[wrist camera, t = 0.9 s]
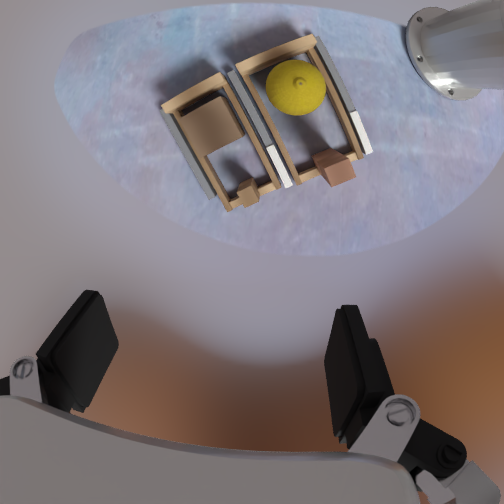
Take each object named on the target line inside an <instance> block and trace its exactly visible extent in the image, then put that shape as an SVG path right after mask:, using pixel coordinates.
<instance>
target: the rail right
mask: <svg viewBox="0 0 504 504" xmlns="http://www.w3.org/2000/svg"><path fill="white" fill-rule="evenodd" d="M160 113H161V115H162V116H163V118H164V120H165V122H166V124H167V126H168V127H169V129H170V131H171V133H172V135H173V136H174V138H175V140H176V142H177V144H178V145H179V147H180V149H181V151H182V153H183V154H184V156H185V158H186V160H187V162H188V163H189V165H190V167H191V169H192V171H193V172H194V174H195V176H196V178H197V180H198V181H199V183H200V185H201V187H202V188H203V190H204V192H205V194H206V196H207V197H208V199H209V200H210V199H212V198H214V197H215V196H216V195H217V192H216V190H215V189H214V187H213V185H212V183H211V181H210V180H209V178H208V176H207V174H206V172H205V171H204V169H203V167H202V165H201V163H200V161H199V160H198V158H197V156H196V154H195V152H194V151H193V149H192V147H191V145H190V143H189V142H188V140H187V138H186V136H185V134H184V132H183V131H182V129H181V127H180V125H179V123H178V122H177V120H176V118H175V116H174V114H173V113H168V114H166V113H165V112H164V110H163V109H162V110H160Z"/></svg>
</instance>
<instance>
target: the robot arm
mask: <svg viewBox="0 0 504 504" xmlns="http://www.w3.org/2000/svg"><path fill="white" fill-rule="evenodd" d="M406 45H407V49H408V53H409V56H410V58H411V61H412V63H413V65H414V67H415V68H416V70H417V72H418V73H419V75H420V76H421V77H422V79H423V80H424V81H425V82H426V83H427V84H428V85H429V86H430V87H431V88H432V89H433V90H434V91H436V92H437V93H438V94H440V95H442V96H444V97H446V98H449V99H452V100H469V99H472V98H474V97H475V96H477V95H478V94H479V93H480V91H481V90H482V89H497V90H504V0H479V1H476V2H474V3H470V4H468V5H465V6H462V7H459V8H457V9H454V10H452V11H447V10H445V9H442V8H438V7H428V8H424V9H422V10H420V11H418V12H416V13H415V14H414V15H413V16H412V17H411V19H410V20H409V22H408V25H407V28H406ZM417 59H418V60H417ZM118 345H119V344H118V339H117V336H116V334H115V331H114V328H113V326H112V323H111V320H110V317H109V314H108V312H107V308H106V306H105V303H104V299H103V297H102V295H100V294H99V292H98V291H93V290H85V291H84V292H83V293H82V294H81V295H80V297H79V298H78V299H77V300H76V301H75V303H74V304H73V305H72V306H71V308H70V309H69V310H68V311H67V313H66V314H65V315H64V316H63V318H62V319H61V320H60V322H59V323H58V324H57V325H56V327H55V328H54V329H53V331H52V332H51V334H50V335H49V336H48V338H47V339H46V340H45V342H44V343H43V344H42V346H41V347H40V349H39V350H38V351H37V353H36V355H37V357H38V359H37V360H35V359H34V358H33V357H31V356H24V357H21V358H19V359H17V360H16V361H15V362H14V363H13V365H12V366H11V369H10V376H8V377H5V378H3V379H0V504H420V500H419V496H418V492H417V491H423V492H424V493H425V494H426V495H427V496H428V497H429V498H428V499H427V500H428V501H429V502H430V503H431V504H499V502H500V497H501V494H500V490H499V488H498V487H497V486H496V485H495V484H494V482H493V481H492V480H491V479H490V478H489V477H488V476H487V475H486V474H485V473H484V472H483V471H482V470H481V469H480V468H479V467H478V466H477V465H476V464H475V463H474V462H473V461H471V462H469V461H468V460H467V459H466V457H467V452H466V448H465V446H464V445H463V443H462V442H460V441H459V440H458V439H456V438H454V437H453V436H451V435H449V434H447V433H445V432H443V431H442V430H440V429H438V428H436V427H434V426H433V425H431V424H429V423H427V422H426V421H424V420H422V419H420V409H419V407H418V405H417V403H416V402H415V401H414V400H413V399H411V398H409V397H407V396H405V395H395V393H394V390H393V387H392V384H391V380H390V377H389V374H388V371H387V368H386V365H385V362H384V359H383V356H382V353H381V350H380V348H379V345H378V342H377V341H376V339H374V338H373V339H369V337H368V334H367V331H366V328H365V325H364V322H363V319H362V317H361V314H360V311H359V309H358V306H357V305H342V306H341V309H337V310H336V313H335V317H334V321H333V325H332V330H331V334H330V338H329V342H328V346H327V350H326V354H325V360H324V366H325V372H326V379H327V386H328V394H329V401H330V409H331V417H332V425H333V433H334V436H335V437H339V443H347V448H348V449H349V451H348V452H266V451H246V450H233V449H222V448H213V447H205V446H198V445H191V444H185V443H178V442H173V441H168V440H163V439H158V438H153V437H148V436H144V435H140V434H136V433H132V432H128V431H124V430H120V429H116V428H113V427H110V426H106V425H103V424H99V423H96V422H93V421H90V420H87V419H84V418H81V417H78V416H76V415H73V414H71V413H70V410H71V408H73V410H76V411H79V412H82V413H83V412H84V410H85V408H86V407H88V406H89V405H90V403H91V401H92V399H93V397H94V395H95V393H96V391H97V389H98V387H99V385H100V383H101V381H102V379H103V376H104V375H105V373H106V370H107V369H108V367H109V365H110V363H111V361H112V359H113V357H114V355H115V353H116V351H117V349H118Z"/></svg>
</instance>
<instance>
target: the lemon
mask: <svg viewBox="0 0 504 504" xmlns="http://www.w3.org/2000/svg"><path fill="white" fill-rule="evenodd" d="M266 93H267V96H268V98H269V100H270V102H271V103H272V104H273V106H274V107H276V108H277V109H278V110H279V111H282V112H284V113H286V114H290V115H304V114H308V113H310V112H312V111H314V110H315V109H316V108H317V107H319V106H320V104H321V103H322V101H323V99H324V97H325V93H326V84H325V80H324V77H323V76H322V74H321V72H320V71H319V70H318V69H317V68H316V67H315V66H313V65H312V64H310V63H308V62H305V61H303V60H287V61H284V62H282V63H280V64H278V65H277V66H275V67H274V68H273V69H272V71H271V72H270V73H269V75H268V77H267V80H266Z"/></svg>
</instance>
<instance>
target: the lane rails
mask: <svg viewBox="0 0 504 504" xmlns="http://www.w3.org/2000/svg"><path fill="white" fill-rule="evenodd" d="M315 39H316V41H317V43H316V45H315V46H314V47H313V48H314V49H315V51H316V53H317V55H318V57H319V59H320V60H321V62H322V64H323V66H324V68H325V70H326V72H327V74H328V76H329V78H330V80H331V82H332V84H333V86H334V88H335V90H336V92H337V95H338V97H339V99H340V101H341V103H342V105H343V108H344V110H345V112H346V115H347V117H348V119H349V121H350V124H351V126H352V129H353V131H354V134H355V136H356V138H357V141H358V144H359V146H360V149H361V151H362V153H364V154H366V155H367V154H369V153H372V152H373V150H372V148H371V145H370V142H369V140H368V137H367V134H366V132H365V129H364V127H363V124H362V122H361V119H360V117H359V115H358V112H357V111H356V109H355V107H354V105H353V102H352V100H351V98H350V96H349V94H348V91H347V89H346V87H345V85H344V83H343V81H342V79H341V77H340V75H339V73H338V71H337V69H336V67H335V65H334V63H333V61H332V59H331V57H330V55H329V53H328V51H327V50H326V48H325V46H324V44H323V42H322V40H321V39H320V37H319V36H317V37H315ZM227 74H228V76H229V78H230V80H231V82H232V83H233V85H234V87H235V89H236V91H237V93H238V94H239V96H240V98H241V100H242V102H243V104H244V106H245V107H246V109H247V111H248V113H249V115H250V117H251V119H252V121H253V123H254V125H255V126H256V128H257V130H258V132H259V134H260V136H261V138H262V140H263V142H264V144H265V146H266V149H267V151H268V153H269V155H270V157H271V159H272V161H273V163H274V165H275V167H276V169H277V171H278V173H279V175H280V177H281V179H282V181H283V184H284V186H285V188H288V187H290V186H292V185H293V184H292V182H291V179H290V177H289V175H288V173H287V171H286V169H285V167H284V165H283V163H282V161H281V158H280V156H279V154H278V152H277V150H276V148H275V146H274V144H273V142H272V140H271V138H270V136H269V134H268V132H267V130H266V128H265V126H264V124H263V122H262V120H261V118H260V116H259V115H258V113H257V111H256V109H255V107H254V105H253V103H252V101H251V99H250V98H249V96H248V94H247V92H246V90H245V88H244V86H243V85H242V83H241V81H240V79H239V77H238V76H237V74H236V72H235V71H234V70H232V71H230V72H228V73H227Z"/></svg>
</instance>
